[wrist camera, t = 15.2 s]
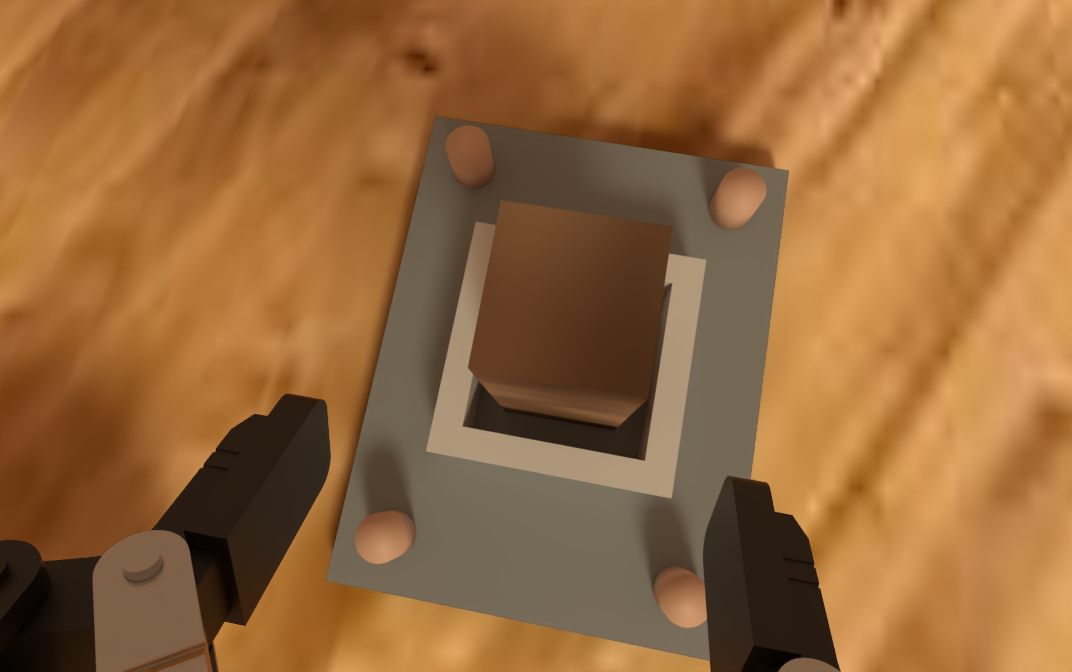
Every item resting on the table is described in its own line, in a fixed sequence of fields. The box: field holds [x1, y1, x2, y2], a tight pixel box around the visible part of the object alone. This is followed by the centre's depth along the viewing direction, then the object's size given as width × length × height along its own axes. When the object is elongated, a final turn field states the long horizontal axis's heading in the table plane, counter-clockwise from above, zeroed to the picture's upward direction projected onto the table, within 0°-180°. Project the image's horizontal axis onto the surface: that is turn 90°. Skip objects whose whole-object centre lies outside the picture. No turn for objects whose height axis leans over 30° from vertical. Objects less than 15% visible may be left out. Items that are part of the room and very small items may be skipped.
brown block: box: [468, 200, 673, 430], centre depth 20 cm, size 4×4×10 cm
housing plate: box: [326, 116, 789, 661], centre depth 25 cm, size 14×18×4 cm
